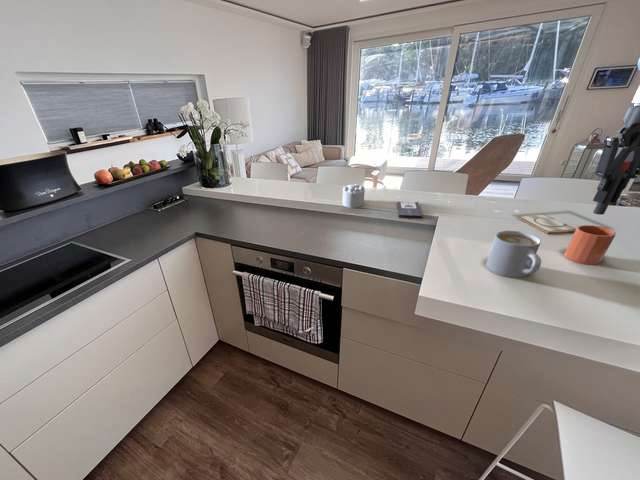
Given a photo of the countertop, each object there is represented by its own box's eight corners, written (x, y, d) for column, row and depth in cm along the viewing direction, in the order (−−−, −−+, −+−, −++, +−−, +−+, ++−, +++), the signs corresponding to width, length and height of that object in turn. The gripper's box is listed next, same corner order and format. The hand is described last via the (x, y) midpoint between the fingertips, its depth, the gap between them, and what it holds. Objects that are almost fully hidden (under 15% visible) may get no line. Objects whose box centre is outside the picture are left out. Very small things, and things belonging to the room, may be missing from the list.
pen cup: (583, 251, 89) (597, 224, 84) (608, 263, 82) (624, 235, 77) (557, 252, 89) (569, 226, 85) (579, 265, 82) (594, 237, 78)
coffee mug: (479, 260, 89) (489, 231, 84) (515, 260, 87) (526, 230, 82) (503, 284, 78) (515, 252, 73) (544, 284, 76) (559, 251, 71)
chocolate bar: (399, 215, 123) (397, 201, 138) (398, 217, 124) (397, 203, 138) (421, 215, 120) (417, 201, 135) (421, 217, 121) (417, 203, 136)
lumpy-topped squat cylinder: (363, 199, 148) (364, 182, 144) (364, 207, 137) (365, 190, 133) (342, 199, 150) (343, 183, 146) (342, 208, 140) (342, 190, 135)
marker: (599, 211, 81) (624, 160, 74) (607, 214, 79) (634, 161, 72) (590, 212, 81) (614, 160, 74) (597, 215, 79) (623, 162, 72)
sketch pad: (568, 213, 113) (569, 211, 112) (607, 230, 99) (608, 227, 98) (515, 217, 114) (516, 215, 113) (547, 234, 100) (548, 232, 100)
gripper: (670, 101, 70) (620, 195, 81) (603, 106, 71) (563, 199, 82) (709, 101, 63) (648, 204, 75) (635, 107, 64) (586, 208, 76)
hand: (604, 201), depth 79 cm, fingers closed on marker, 2 cm apart
